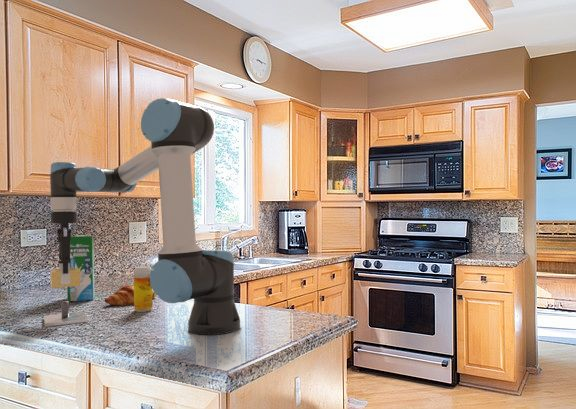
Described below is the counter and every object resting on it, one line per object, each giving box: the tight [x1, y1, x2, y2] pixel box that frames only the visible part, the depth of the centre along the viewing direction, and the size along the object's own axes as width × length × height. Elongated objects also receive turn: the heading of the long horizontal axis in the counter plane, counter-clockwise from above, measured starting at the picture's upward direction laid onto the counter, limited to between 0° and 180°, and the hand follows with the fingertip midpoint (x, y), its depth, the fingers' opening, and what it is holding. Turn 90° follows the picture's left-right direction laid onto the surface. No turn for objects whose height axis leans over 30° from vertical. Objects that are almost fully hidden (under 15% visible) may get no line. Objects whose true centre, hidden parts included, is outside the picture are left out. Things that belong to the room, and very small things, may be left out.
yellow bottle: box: [133, 265, 154, 313], centre depth 166 cm, size 6×6×15 cm
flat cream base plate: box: [43, 300, 88, 328], centre depth 153 cm, size 12×12×6 cm
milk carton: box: [66, 234, 96, 302], centre depth 188 cm, size 9×9×25 cm
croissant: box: [104, 284, 157, 306], centre depth 181 cm, size 21×10×8 cm, turn 139°
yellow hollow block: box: [49, 268, 80, 289], centre depth 153 cm, size 8×8×5 cm
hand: (64, 281), depth 153 cm, fingers closed on yellow hollow block, 8 cm apart
